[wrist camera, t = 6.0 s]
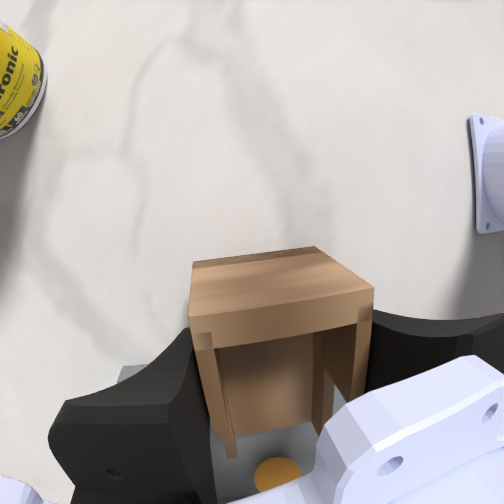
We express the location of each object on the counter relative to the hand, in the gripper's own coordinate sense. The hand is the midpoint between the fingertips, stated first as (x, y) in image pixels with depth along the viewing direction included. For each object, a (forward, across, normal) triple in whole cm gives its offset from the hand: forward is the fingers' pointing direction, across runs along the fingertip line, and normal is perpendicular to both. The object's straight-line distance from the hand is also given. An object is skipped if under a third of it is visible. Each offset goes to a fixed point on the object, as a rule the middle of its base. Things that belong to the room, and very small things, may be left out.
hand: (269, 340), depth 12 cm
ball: (+2, 0, +12) cm, 12 cm away
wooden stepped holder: (+2, 0, +2) cm, 2 cm away
